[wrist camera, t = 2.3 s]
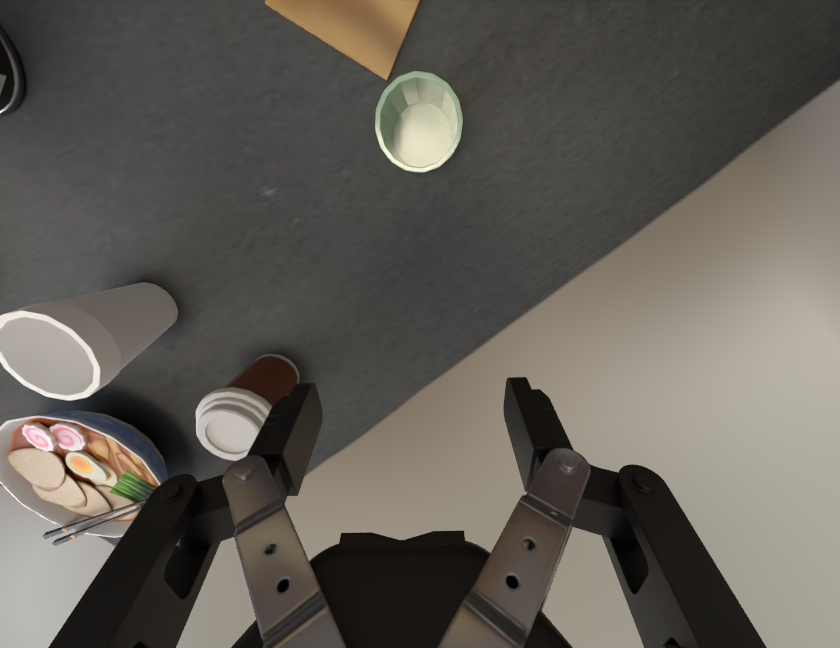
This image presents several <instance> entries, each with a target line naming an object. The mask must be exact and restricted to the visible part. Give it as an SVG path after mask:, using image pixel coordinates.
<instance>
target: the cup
mask: <svg viewBox="0 0 840 648" xmlns="http://www.w3.org/2000/svg"><path fill="white" fill-rule="evenodd" d="M462 124H463V117H462V112H461V107H460V103H459V99H458V98H457V96H456V95H455V93H454V92H453V90H452V89H451V87H450V86H449V84H448V83H447V82H445V81H444V80H442V79H441V78H439V77H438V76H436V75H434V74H433V73H428V72H419V71H413V72H410V73H407V74H405V75H402V76H399V77H397V78H396V79H395V80H394V81H393V82H392V83H391V84H390V85H389V86H388V87H387V88H386V89H385V90H384V92H383V93H382V96H381V98H380V101H379V103H378V106H377V108H376V119H375V131H376V134H377V137H378V141H379V144H380V147H381V149H382V150H383V152H384V153H385V154H386V155H387V157H388V158H389V159H390V161H391V162H392V163H394V164H395V165H397V166H399V167H401V168H402V169H404V170H406V171H411V172H421V173H424V172H427V171H430V170H433V169H436V168H438V167H440V166H441V165H442V164H443V163H444V162H445V161H447V160H448V159H449V158H450V157H451V156H452V155H453V153H454V151H455V149H456V147H457V145H458V143H459V141H460V139H461V132H462Z"/></svg>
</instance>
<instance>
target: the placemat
mask: <svg viewBox="0 0 840 648" xmlns="http://www.w3.org/2000/svg"><path fill="white" fill-rule="evenodd" d="M420 1H421V0H265V4H266V5H267V6H268V7H269V8H271V9H273V10H274V11H276V12H277V13H279V14H281V15H282V16H284V17H285V18H287V19H289V20H290V21H292V22H293V23H295V24H297V25H298V26H300V27H301V28H303V29H305V30H306V31H308V32H309V33H311V34H312V35H314V36H316V37H317V38H319V39H320V40H322V41H324V42H325V43H327V44H328V45H330V46H332V47H333V48H335V49H336V50H338V51H340V52H341V53H343V54H344V55H346V56H348V57H349V58H351V59H352V60H354V61H356V62H357V63H359V64H360V65H362V66H364V67H365V68H367V69H368V70H370V71H372V72H373V73H375V74H376V75H378V76H380V77H381V78H383V79H384V80H386V81H388V79H389V77H390V74H391V72H392V70H393V67H394V65H395V62H396V60H397V57H398V55H399V52H400V50H401V48H402V45H403V43H404V40H405V38H406V35H407V33H408V30H409V28H410V26H411V23H412V21H413V18H414V16H415V13H416V11H417V8H418V6H419V4H420Z"/></svg>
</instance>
